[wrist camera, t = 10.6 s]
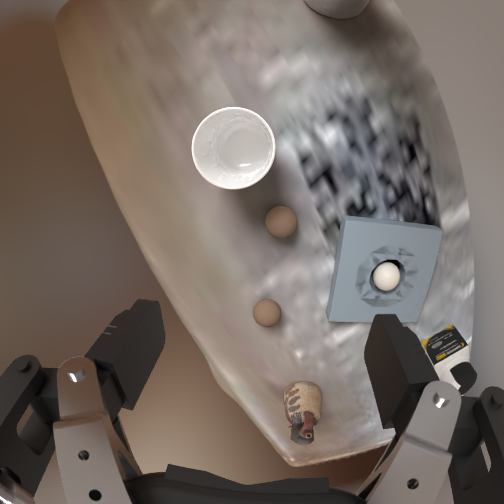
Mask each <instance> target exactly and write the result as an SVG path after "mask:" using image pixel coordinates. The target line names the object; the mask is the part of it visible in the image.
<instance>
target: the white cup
mask: <svg viewBox="0 0 504 504" xmlns="http://www.w3.org/2000/svg"><path fill="white" fill-rule="evenodd" d="M275 150H276V146H275V139H274V135H273V133H272V130H271V128H270V127H269V125H268V124H267V123H266V121H265V120H264V119H263V118H262V117H260V116H259V115H258V114H256V113H254V112H253V111H250V110H248V109H244V108H239V107H229V108H224V109H220V110H218V111H215V112H214V113H212V114H210V115H209V116H207V117H206V118H205V119H204V120H203V121H202V122H201V124H200V125H199V126H198V128H197V130H196V132H195V134H194V137H193V141H192V156H193V160H194V163H195V166H196V168H197V169H198V171H199V172H200V174H201V175H202V176H203V177H204V178H205V179H206V180H207V181H209V182H210V183H212V184H213V185H215V186H218V187H221V188H225V189H242V188H246V187H249V186H251V185H253V184H255V183H257V182H258V181H259V180H261V179H262V178H263V177H264V176H265V175H266V174H267V172H268V171H269V169H270V168H271V166H272V163H273V161H274V157H275Z"/></svg>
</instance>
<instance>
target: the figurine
mask: <svg viewBox="0 0 504 504" xmlns="http://www.w3.org/2000/svg"><path fill="white" fill-rule="evenodd" d="M283 399H284V405H285V412H286V417H287V419H288V421H289V422H290V423H291V424H292V426H289V429H291V438H290V439H291V440H292V441H294V442H296V443H298V444H300V445H307V444H310V443H311V442H313V441H314V431H313V426H314V425H316V424H317V423H318V421H319V419H320V416H321V406H322V394H321V391H320V389H319V387H318V386H317V385H316V384H314V383H312V382H303V381H301V382H296V383H293V384H291V385H290V386H288V387H287V388H286V389H285V391H284V397H283Z"/></svg>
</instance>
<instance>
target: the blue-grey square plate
mask: <svg viewBox="0 0 504 504" xmlns="http://www.w3.org/2000/svg"><path fill="white" fill-rule="evenodd" d="M442 236H443V230H441V229H440V228H438V227H436V226H433V225H425V224H418V223H410V222H401V221H393V220H384V219H375V218H365V217H356V216H345V215H342V216H341V224H340V232H339V239H338V246H337V253H336V259H335V266H334V272H333V278H332V283H331V289H330V295H329V300H328V305H327V310H326V313H327V318H328V321H334V322H373V319H374V316H375V315H376V314H396V315H397V317H398V319H399V320H400V322H417V321H418V319H419V316H420V313H421V310H422V307H423V304H424V301H425V298H426V295H427V292H428V289H429V285H430V282H431V279H432V275H433V272H434V268H435V264H436V261H437V257H438V253H439V249H440V244H441V240H442ZM387 259H394V260H398V262H399V265H400V268H399V272H400V280H399V283H398V285H397V286H396V287H395V288H393V289H392V290H388V291H384V290H381V289H379V288H378V287H374V286H373V285H371V284H370V283H369V280H370V276H371V272H372V270H373V269H374V268H375V267H376V265H377V264H378V263H380V262H382V261H384V260H387Z"/></svg>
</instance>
